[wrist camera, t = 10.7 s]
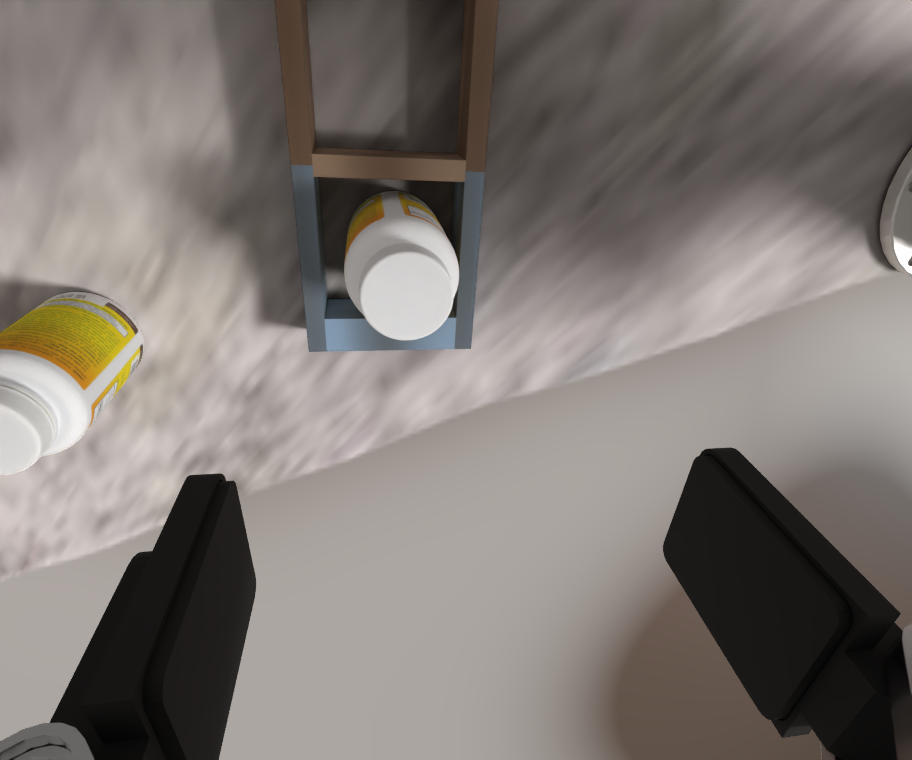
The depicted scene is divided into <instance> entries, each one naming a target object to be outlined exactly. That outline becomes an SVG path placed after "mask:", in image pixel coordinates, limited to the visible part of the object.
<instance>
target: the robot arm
mask: <svg viewBox="0 0 912 760" xmlns="http://www.w3.org/2000/svg"><path fill="white" fill-rule="evenodd" d="M880 241H881V245H882V249H883V252H884V254H885V256H886V258H887V259H888V261H889V263H890V264H891V265H892V266H893V267H894V268H896V269H897V270H898V271H899V272H901V273H904V274H906V275H909V276H911V277H912V148H911V149H910V151H909V152H908V154H907V155H906V157H905V158H904V160H903V161H902V163H901V165H900V166H899V168H898V170H897V172H896V174H895V176H894V178H893V180H892V182H891V184H890V186H889V189H888V192H887V195H886V198H885V201H884V204H883V208H882V214H881V220H880ZM663 552H664V556H665V559H666V561H667V563H668V565H669V566H670V568H671V569H672V571H673V573H674V574H675V576H676V577H677V579H678V581H679V582H680V584H681V585H682V587H683V588H684V590H685V592H686V594H687V595H688V597H689V599H690V600H691V602H692V603H693V605H694V607H695V608H696V610H697V611H698V613H699V615H700V616H701V618H702V619H703V621H704V623H705V624H706V626H707V628H708V629H709V631H710V632H711V634H712V636H713V637H714V639H715V641H716V642H717V644H718V645H719V647H720V649H721V650H722V652H723V654H724V655H725V657H726V658H727V660H728V662H729V663H730V665H731V666H732V668H733V670H734V671H735V673H736V675H737V676H738V678H739V679H740V681H741V683H742V684H743V686H744V688H745V689H746V691H747V692H748V694H749V696H750V697H751V699H752V700H753V702H754V704H755V705H756V707H757V708H758V710H759V711H760V712H761V714H762V715H763V716H765V718H767V719H769V720H771V721H772V722H773V724H774V726H775V727H776V729H777V730H778V732H779V734H780V735H781V737H782V738H785V737H791V736H798V735H805V734H809V732H810V731H811V730H812V729H813V731H814V732H815V734H816V735H817V737H818V738H819V740H820V741H821V760H912V624H909V625H908V626H907V627H906V628H905V629H904V630H903V631H902V630H901V629H900V628H899V627H898V626H897V625H896V624H895V623H894V622H895V621H896V619H897V618H898V617H899V615H900V612H899V611H898V610H896V609H895V607H894V606H893V605H892V604H891V603H890V602H889V601H888V600H887V599H886V598H884V596H883V595H882V594H881V593H879V591H878V590H876V588H875V587H874V586H873V585H872V584H871V583H870V582H869V581H868V580H867V579H866V578H865V577H864V576H863V575H862V574H861V573H860V572H859V571H858V570H857V569H856V568H855V567H854V566H853V565H852V564H851V563H850V562H849V561H848V560H847V559H846V558H845V557H844V556H843V555H842V554H841V553H840V552H839V551H838V550H837V549H836V548H835V547H834V546H833V545H832V544H831V543H830V542H829V541H828V540H827V539H826V538H825V537H824V536H823V535H822V534H821V533H820V532H819V531H818V530H817V529H816V528H815V527H814V526H813V525H812V524H811V523H810V522H809V521H808V520H807V519H806V518H805V517H804V516H803V515H802V514H801V513H800V512H799V511H798V510H797V509H796V508H795V507H794V506H793V505H792V504H791V503H790V502H789V501H788V500H787V499H786V498H785V497H784V496H783V495H782V494H781V493H780V492H779V491H778V490H777V489H776V488H775V487H774V486H773V485H772V484H771V483H770V482H769V481H768V480H767V479H766V478H765V477H764V476H763V475H762V474H761V473H760V472H759V471H758V470H757V469H756V468H755V467H754V466H753V465H752V464H751V463H750V462H749V461H748V460H747V459H746V458H745V457H744V456H743V455H742V454H741V453H740V452H739V451H738V450H736V449H734V448H714V449H705V450H704V451H702V452H701V454H700V456H698V457H696V458H695V460H694V462H693V464H692V467H691V470H690V472H689V475H688V478H687V481H686V483H685V486H684V489H683V492H682V494H681V497H680V500H679V503H678V505H677V508H676V511H675V514H674V516H673V519H672V522H671V524H670V527H669V530H668V533H667V535H666V538H665V541H664V545H663ZM255 592H256V577H255V572H254V567H253V563H252V558H251V553H250V549H249V543H248V539H247V534H246V529H245V525H244V520H243V515H242V510H241V505H240V501H239V496H238V491H237V487H236V483H235V482H234V481H226V479H225V477H224V475H223V474H203V475H190V476H188V477H187V478H186V480H185V482H184V484H183V486H182V488H181V490H180V492H179V495H178V497H177V499H176V501H175V503H174V505H173V508H172V510H171V512H170V514H169V516H168V518H167V521H166V523H165V525H164V527H163V529H162V532H161V534H160V536H159V538H158V540H157V543H156V544H155V547H154V549H153V551H150V552H140V553H138V554H136V555H135V556H134V557H133V559H132V560H131V562H130V563H129V565H128V567H127V569H126V571H125V573H124V575H123V577H122V579H121V581H120V583H119V585H118V587H117V589H116V591H115V593H114V595H113V597H112V599H111V601H110V603H109V605H108V607H107V609H106V611H105V613H104V615H103V617H102V619H101V621H100V623H99V625H98V627H97V629H96V631H95V633H94V635H93V637H92V639H91V641H90V643H89V645H88V647H87V649H86V651H85V653H84V655H83V657H82V659H81V661H80V663H79V665H78V667H77V669H76V671H75V673H74V675H73V677H72V679H71V681H70V683H69V685H68V687H67V689H66V691H65V693H64V695H63V697H62V699H61V701H60V703H59V705H58V707H57V709H56V711H55V713H54V715H53V717H52V719H51V721H50V723H43V724H39V725H36V726H33V727H29V728H26V729H23V730H21V731H19V732H17V733H15V734H13V735H11V736H10V737H8V738H6V739H4V740H2V741H0V760H219V755H220V751H221V746H222V742H223V737H224V733H225V728H226V723H227V719H228V715H229V710H230V706H231V701H232V697H233V692H234V688H235V683H236V679H237V674H238V670H239V665H240V661H241V656H242V651H243V648H244V643H245V639H246V634H247V630H248V625H249V621H250V616H251V612H252V607H253V603H254V598H255Z"/></svg>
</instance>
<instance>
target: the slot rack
mask: <svg viewBox="0 0 912 760" xmlns="http://www.w3.org/2000/svg"><path fill="white" fill-rule="evenodd" d="M498 2H499V0H465V2H464V21H463V40H462V59H461V78H460V97H459V116H458V135H457V153H438V152H416V151H393V150H370V149H348V148H325V147H317V146H316V132H315V118H314V104H313V91H312V77H311V63H310V49H309V35H308V21H307V8H306V0H275V7H276V18H277V28H278V38H279V49H280V59H281V69H282V79H283V90H284V100H285V110H286V121H287V131H288V141H289V152H290V162H291V172H292V183H293V193H294V203H295V214H296V224H297V234H298V245H299V255H300V265H301V276H302V286H303V296H304V307H305V317H306V327H307V338H308V348H309V352H322V351H373V350H425V349H471V341H472V328H473V316H474V303H475V291H476V278H477V265H478V253H479V240H480V228H481V215H482V203H483V190H484V178H485V165H486V152H487V140H488V127H489V115H490V102H491V90H492V77H493V65H494V52H495V39H496V27H497V14H498ZM319 177H336V178H365V179H393V180H422V181H450V182H455V192H454V211H453V230H452V247H453V249H454V251H455V254H456V257H457V261H458V265H459V283H458V288H457V291H456V294H455V297H454V299H453V305H452V309H451V311H450V314H449V316H448V317H447V319H446V320H445V322H444V323H443V324H442V325H441V326H440V327H439V328H438V329H437V330H436V331H434V332H433V333H431V334H429V335H428V336H425V337H423V338H420V339H416V340H397V339H392V338H389V337H387V336H384V335H383V334H381V333H379V332H378V331H376V330H375V329H374V328H373V327H372V326H371V325H370V324H369V323H368V321H367V320H366V318H365V317H364V315H363V314H362V313H361V312H360V311H359V310H358V308H357V307H356V306H355V304H354V303H353V301H352V300H351V299H328V298H327V284H326V270H325V257H324V243H323V229H322V215H321V201H320V187H319Z"/></svg>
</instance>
